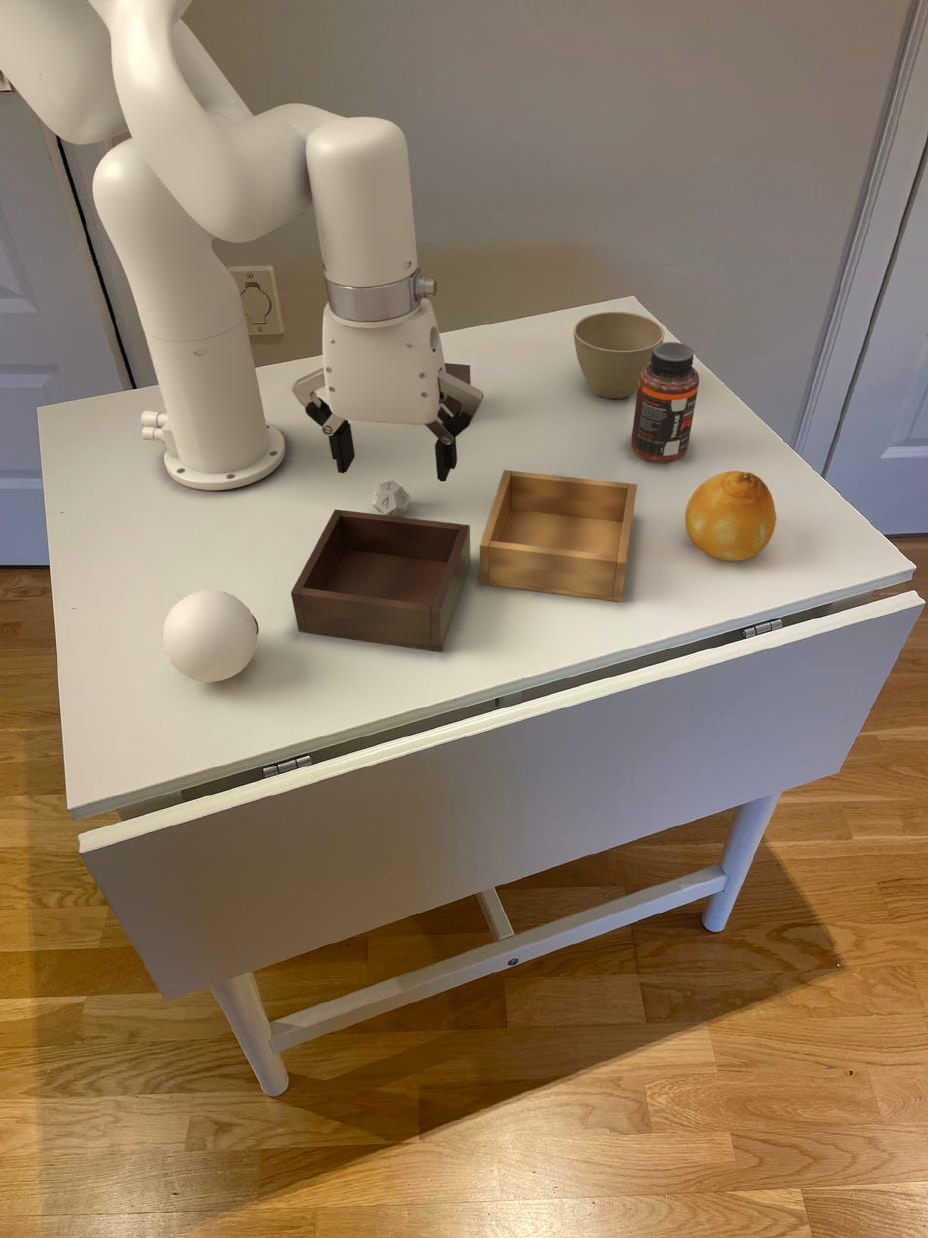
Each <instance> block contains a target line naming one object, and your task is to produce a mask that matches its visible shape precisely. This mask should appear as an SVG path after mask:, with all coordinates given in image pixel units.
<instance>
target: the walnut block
mask: <svg viewBox="0 0 928 1238" xmlns="http://www.w3.org/2000/svg"><path fill="white" fill-rule="evenodd" d="M444 363H445V370H446V373H448V374H450V375H452V376H454V377H456V378H458V379H460V380H461V381H463V382H465V383H467V384H469V385H471V386H472V384H471V383H472V381H471V365H470V364H461V363H448V362H444ZM442 403H443V404H444V405H445V406H446V407H447V408H448V410H449V411H450V412H451V413H452V414H453V415H455V414H456V413H457V412H458V411H459V410H460V409H462V407H463V405H462V403H461V402H460V401H458V400H456V399H454V398H452V397H450V396H448V395H447V397H446V401H442Z"/></svg>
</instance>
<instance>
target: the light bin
mask: <svg viewBox="0 0 928 1238" xmlns="http://www.w3.org/2000/svg"><path fill="white" fill-rule="evenodd" d="M500 478H501V479H500V482H499V484H498V488H497V491H496V494H495V497H494V500H493V503H492V506H491V509H490V512H489V515H488V517H487V521H486V525H485V528H484V531H483V534H482V536H481V537H482V538H481V540H480V543H479V584H480V585H486V586H494V587H501V588H502V587H503V588H508V589H509V588H510V589H518V590H526V591H534V592H541V593H548V594H556V595H565V596H573V597H581V598H586V599H588V598H589V599H596V600H602V601H611V602H619V603H621V602H622V599H623V591H624V584H625V577H626V570H627V563H628V556H629V550H630V549H629V547H630V541H631V535H632V534H631V533H632V527H633V519H634V512H635V505H636V504H635V503H636V497H637V490H638V484H637V483H628V482H621V481H612V480H600V479H593V478H592V479H591V478H583V477H573V476H563V475H555V474H545V473H538V472H537V473H536V472H535V473H534V472H527V471H519V470H518V471H517V470H510V469H509V470H507V469H504V470H503V473H502V475H501V477H500Z"/></svg>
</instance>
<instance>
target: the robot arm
mask: <svg viewBox="0 0 928 1238" xmlns="http://www.w3.org/2000/svg"><path fill="white" fill-rule="evenodd" d="M192 2H193V0H0V71H1V72H2V74H3V75H4V76H5V77H6V78H7V80H8V82H9V83H11V85H12V86H13V87H14V89H15V90H16V91H17V92H18V93H19V95H20V96H21V97H22V98H23V100H24V101H25V102H26V103H27V104H28V106H29V107H30V108H31V109H32V111H33V112H34V113H35V114H36V115H37V117H38V118H39V119H40V120H41V121H42V122H43V123H44V124H45V125H46V126H47V128H49V129H50V130H51V131H52V132H53V133H54V134H55V135H56V136H57V137H59V138H60V139H62V140H63V141H65V142H67V143H70V144H73V145H90V144H94V143H99V142H103V141H106V140H110V139H112V138H115V137H118V136H120V135H123V134H126V133H128V132H129V134H130V136H131V137H129V138H128V139H126V140H123V141H121V142H120V143H118V144H117V145H115V146H114V147H112V148H111V149H110V150H109V151H108V152H107V153H106V154H105V155H104V156H103V157H102V158H101V160H100V161H99V163H98V164H97V166H96V168H95V171H94V174H93V177H92V198H93V202H94V205H95V209H96V211H97V215H98V217H99V220H100V222H101V224H102V226H103V228H104V230H105V232H106V234H107V236H108V238H109V240H110V242H111V244H112V245H113V248H114V250H115V252H116V254H117V256H118V258H119V261H120V263H121V265H122V268H123V271H124V273H125V275H126V278H127V281H128V284H129V288H130V290H131V293H132V296H133V299H134V303H135V306H136V309H137V313H138V317H139V320H140V323H141V327H142V329H143V332H144V336H145V339H146V340H145V341H146V344H147V348H148V350H149V354H150V359H151V361H152V365H153V368H154V372H155V376H156V379H157V383H158V387H159V390H160V393H161V394H160V395H161V397H162V401H163V405H164V408H165V411H166V413H164V412H163V411H153V410H144V411H143V412H142V413H141V416H140V417H141V418H140V422H141V426H142V429H141V435H142V436H141V437H142V439H143V440H144V441H154V442H157V441H159V442H163V444H164V445H166V449H165V451H164V456H163V458H164V459H163V460H164V465H165V468H166V471H167V473H168V474H169V476H170V477H171V479H173V480H174V481H176V482H177V483H179V484H181V485H183V486H185V487H187V488H192V489H196V490H203V491H222V490H224V491H225V490H232V489H236V488H241V487H244V486H248V485H250V484H254V483H256V482H258V481H260V480H263V479H264V478H266V477H267V476H268V475H270V474H271V473H273V472H274V471H275V470H276V469H277V468H278V467H279V466H280V464H281V463H282V462H283V460H284V458H285V456H286V450H287V449H286V444H285V443H286V442H285V437H284V435H283V434H282V432H281V431H280V430H279V429H278V428H277V427H276V426H274V425H273V424H271V423H269V422H267V421H266V417H265V412H264V407H263V406H264V405H263V402H262V396H261V391H260V386H259V380H258V375H257V372H256V371H257V370H256V365H255V359H254V355H253V350H252V345H251V340H250V335H249V330H248V324H247V319H246V315H245V310H244V306H243V301H242V300H243V299H242V296H241V292H240V289H239V286H238V284H237V282H236V280H235V278H234V276H233V274H232V273H231V271H229V269H228V268H227V267H226V266H225V264H224V263H223V262H222V261H221V260H220V259H219V258H218V256H217V254H216V252H215V251H214V248H213V244H212V243H213V241H214V240H215V239H217V238H218V239H219V240H221V241H225V242H229V243H232V244H233V243H234V244H236V243H237V244H239V243H249V242H252V241H254V240H257V239H258V238H261V237H263V236H265V235H267V234H269V233H271V232H273V231H274V230H275V229H277V228H279V227H282V226H283V225H285V224H286V223H289V222H291V220H293V219H294V220H295V218H299V217H300V216H304V215H306V214H309V213H312V212H314V217H315V224H316V230H317V235H318V242H319V249H320V255H321V261H322V268H323V273H324V280H325V286H326V293H327V300H328V301H327V303H326V305H325V307H324V308H323V312H322V313H323V314H322V315H323V316H322V344H321V345H322V346H321V347H322V367H321V368H318V369H317V370H314V371H313V372H311V373H309V374H307V375H305V376H303V377H300V378H299V379H297V380H296V382H295V383H293V386H292V387H291V391H292V393H293V395H294V396H295V398H296V399H297V401H298V402H299V404H300V405H301V406H302V407H304V411H305V414H306V415H307V416H308V417H309V418H310V419H311V420H313V422H315V424H317V425H318V426H319V427H321V432H322V434H324V435H325V436H327V437H328V442H329V449H330V454H331V458H332V460H333V461H335V463H336V468H337V473H338V474H346V473H347V472H348V470H349V468H350V467H351V466H352V463H353V461H354V460H355V458H356V453H355V446H354V440H353V433H352V427H351V423H350V422H349V421H356V422H368V423H369V422H370V423H382V424H395V425H396V424H397V425H400V424H401V425H415V426H418V425H420V426H423V425H424V426H426V428H427V429H428V430H429V431H430V432H431V433H432V434H433V435H434V436H435V438H437V440H436V441H435V444H434V454H435V467H436V479H437V481H439V482H444V483H445V482H446V481H447V479H448V477H449V474H450V472H451V470H456V467H457V465H458V464H457V463H458V450H457V449H458V448H457V437H458V436H460V434H461V433H462V432H464V431H465V430H466V429H467V428H468V427H469V426H470V425H471V422H472V421H473V418H474V417H475V416H476V413H477V412H478V410H479V409H480V406H481V404H482V401H483V399H484V393H483V391H482V390H480V389H478V388H476V387H475V386H474V385H472V384H471V385H469V384H467V383H465V382H463V381H461V380H460V379H458V378H456V377H454V376H452V375H450V374H448V373H446V370H445V363H446V362H445V357H444V351H443V346H442V340H441V335H440V330H439V326H438V322H437V319H436V315H435V311H434V307H433V305H432V302H431V301H430V300H429V299H428V298H429V297H430V298H432V297H433V298H436V296H437V291H438V283H437V280H436V279H435V278H434V279H432V278H429V279H428V277H427V276H423V273H422V270H421V265H419V263H418V252H417V239H416V228H415V217H414V206H413V193H412V184H411V171H410V161H409V160H410V159H409V151H408V150H409V149H408V143H407V139H406V136H405V134H404V132H403V131H402V129H401V128H400V127H399V126H398V125H397V124H396V123H394V122H392V121H390V120H388V119H386V118H385V119H384V118H380V117H375V116H374V117H373V116H353V117H346V116H342V115H339V114H336V113H333V112H330V111H328V110H325V109H322V108H319V107H316V106H314V105H310V104H306V103H305V104H304V103H297V102H296V103H295V102H293V103H286V104H281V105H278V106H276V107H273V108H271V109H269V110H266V111H264V112H261V113H259V114H256V115H254V114H253V113H252V111H251V110H250V109H249V107H248V106H247V105H246V103H245V102H244V101H243V99H242V98H241V96H240V94H238V92H237V91H236V90H235V88H234V86H232V84H231V83H230V82H229V79H227V77H226V76H225V75H224V73H223V72H222V71H221V69H220V68H219V66H218V65H217V64H216V62H215V61H214V60H213V58H212V57H211V56H210V54H209V53H208V51H207V50H206V49H205V47H204V46H203V44H202V43H201V42H200V40H199V38H197V37H196V35H195V34H194V33H193V32H192V30H191V29H190V28H189V26H188V25H187V24H186V23H185V22H184V21H183V20H182V19H181V18H182V17H183V15H184V14H185V13H186V11H187V10H188V8H189V7H190V5H191V3H192ZM324 387H325V395H326V399H327V400H326V401H327V402H325V400H324V399H322V398H321V397H319V396H317V392H316V391H318V390H319V389H322V388H324ZM447 395H448V396H450V397H452V398H454V399H456V400H458V401H460V402H461V403H462V405H463V407H462V409H460V410H459V411H458V412H457V413H456V414H455V415H453V414H452V413H451V412H450V411H449V410H448V408H447V407H446V406H445V405H444V404H443V403H442V401H446V397H447Z"/></svg>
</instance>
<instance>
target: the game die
mask: <svg viewBox="0 0 928 1238" xmlns="http://www.w3.org/2000/svg"><path fill="white" fill-rule="evenodd" d="M409 498H410V495H409V493H408V492H407V491H406V490H405V489H404V487H402V485H400V484H399V483H398V482H396V481H395V480H388V481H385V482H381V483H379V484H378V485H377V486H376V489H375V490H374V493H373V497H372V502H371V506H373V507H374V508H375V509H376V510H377V512H379V514H380V515H388V516H396V517H403V514H404V513H405V511H406V510H407V509H408V504H409V500H410V499H409Z"/></svg>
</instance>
